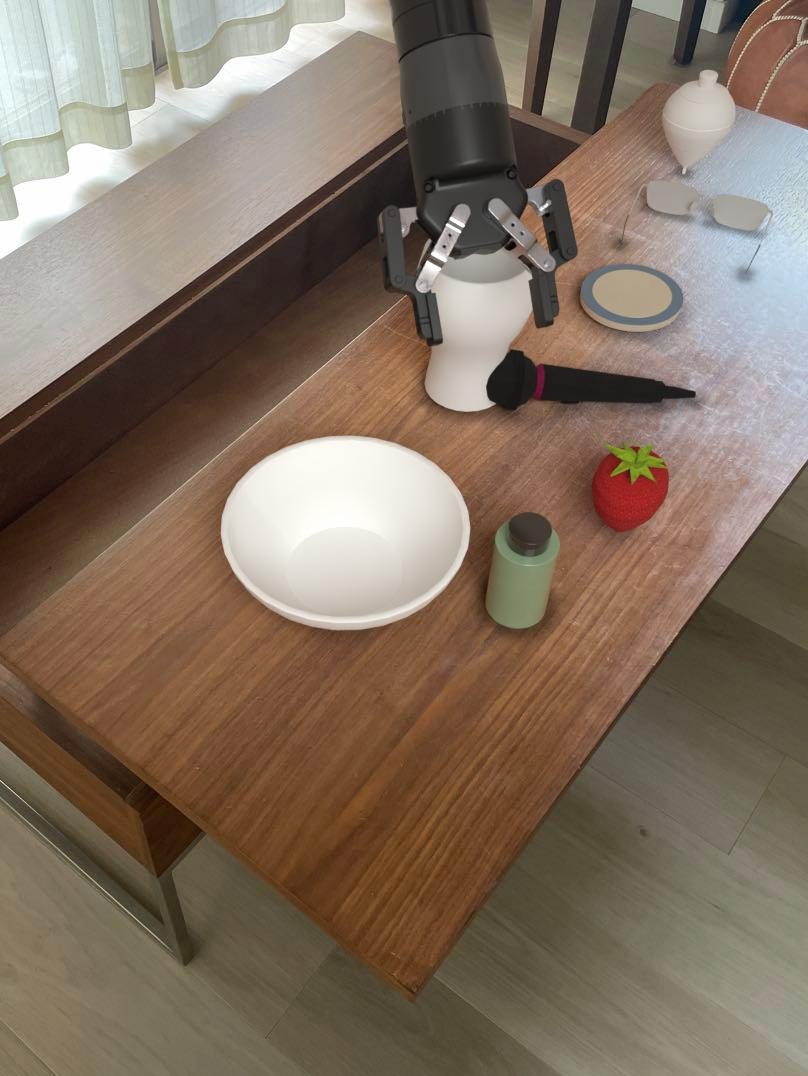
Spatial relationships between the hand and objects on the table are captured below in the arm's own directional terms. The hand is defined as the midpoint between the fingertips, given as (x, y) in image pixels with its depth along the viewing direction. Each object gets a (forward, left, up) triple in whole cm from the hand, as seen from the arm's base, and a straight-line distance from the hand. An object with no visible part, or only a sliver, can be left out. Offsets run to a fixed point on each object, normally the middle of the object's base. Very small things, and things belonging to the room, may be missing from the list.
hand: (490, 336), depth 82 cm
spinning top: (-13, -57, -19) cm, 61 cm away
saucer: (-10, -31, -18) cm, 37 cm away
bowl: (+8, +11, -19) cm, 23 cm away
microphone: (-8, -15, -19) cm, 25 cm away
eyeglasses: (-15, -44, -19) cm, 50 cm away
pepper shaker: (-6, +10, -18) cm, 22 cm away
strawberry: (-13, 0, -19) cm, 22 cm away
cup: (+3, -14, -18) cm, 23 cm away
